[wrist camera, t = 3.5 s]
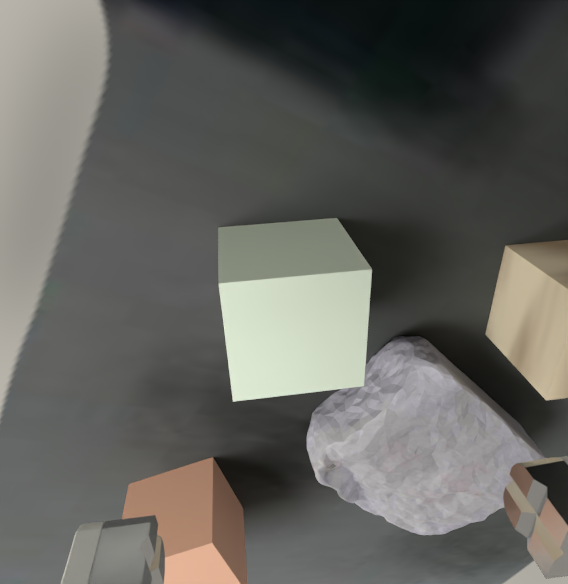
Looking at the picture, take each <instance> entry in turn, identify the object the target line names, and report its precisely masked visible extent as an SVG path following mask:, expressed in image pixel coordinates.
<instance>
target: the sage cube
mask: <svg viewBox="0 0 568 584" xmlns="http://www.w3.org/2000/svg"><path fill="white" fill-rule="evenodd" d="M218 266H219V290H220V299H221V307H222V315H223V323H224V331H225V340H226V348H227V356H228V364H229V372H230V381H231V389H232V397H233V402H234V401H242V400H251V399H259V398H268V397H276V396H285V395H293V394H302V393H310V392H319V391H327V390H336V389H344V388H352V387H361V386H364V378H365V364H366V349H367V335H368V321H369V307H370V292H371V278H372V268H371V267H370V266H369V264H368V263H367V261H366V260H365V258H364V257H363V255H362V254H361V252H360V251H359V249H358V248H357V246H356V245H355V244H354V242H353V241H352V239H351V238H350V236H349V235H348V233H347V232H346V230H345V229H344V227H343V226H342V225H341V223H340V222H339V220H338V219H337V218H330V219H318V220H305V221H293V222H280V223H268V224H255V225H243V226H230V227H218Z"/></svg>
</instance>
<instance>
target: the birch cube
mask: <svg viewBox="0 0 568 584" xmlns="http://www.w3.org/2000/svg"><path fill="white" fill-rule="evenodd" d="M485 335H486V336H487V337H488V338H489V339H490V340H491V341H492V342H493V343H494V344H495V346H496V347H497V348H498V349H499V350H500V351H501V352H502V353H503V354H504V355H505V356H506V357H507V359H508V360H509V361H510V362H511V363H512V364H513V365H514V366H515V367H516V368H517V369H518V371H519V372H520V373H521V374H522V375H523V376H524V377H525V378H526V379H527V380H528V381H529V382H530V384H531V385H532V386H533V387H534V388H535V389H536V390H537V391H538V392H539V393H540V394H541V396H542V397H543V398H544V399H545V400H554V399H562V398H568V240H561V241H550V242H538V243H527V244H516V245H506V246H505V250H504V254H503V259H502V263H501V268H500V272H499V276H498V281H497V285H496V290H495V294H494V298H493V303H492V307H491V312H490V316H489V320H488V325H487V329H486V334H485Z"/></svg>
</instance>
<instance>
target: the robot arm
mask: <svg viewBox="0 0 568 584" xmlns="http://www.w3.org/2000/svg"><path fill="white" fill-rule="evenodd" d="M510 476H511V477H512V479H513V480H512V481H511V482H510V483H509V484H508V485H507V486H506V487H505V490H504V494H503V500H504V507H505V510H506V513H507V515H508V518H509V520H510V521H511V523H512V525H513V526H514V528H515V530H517V531H518V532H520V533H521V534H523V535H524V536H526V537H527V538H528V540H527V549H528V551H529V552H530V554H531V556H532V557H533V559H534V560H535V562H536V564H537V565H538V567H539V568H540V570H541V572H542V573H543V575H544V576H545V578H546V579H547V578H555V577H563V576H568V456H564V457H557V458H555V457H553V458H546V459H540V460H534V461H528V462H521V463H516V464H515V465H513V466H512V468H511V471H510ZM157 531H158V522H157V519H156V516H155V515H151V516H143V517H135V518H128V519H120V520H112V521H102V522H95V523H88V524H81V525H80V527H79V528H78V530H77V532H76V533H75V537H74V540H73V544H72V547H71V551H70V554H69V557H68V561H67V564H66V568H65V571H64V575H63V578H62V582H61V584H164V575H165V551H164V544H163V540H162V537H161V536H159V535H157Z"/></svg>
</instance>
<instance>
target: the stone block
mask: <svg viewBox="0 0 568 584" xmlns="http://www.w3.org/2000/svg"><path fill="white" fill-rule="evenodd" d="M307 450H308V453H309V457H310V461H311V464H312V466H313V469H314V472H315V477H316V478H317V480H318V482H319V483H321V484H322V485H326V486H329V487H332V488H334V489H335V490H336V491H337V493H338V495H339V496H340V497H341V498H342V499H344V500H345V501H347V502H349V503H356V504H357V505H358V506H360V507H361V508H362V509H364V510H366V511H369V512H370V513H373V514H375V515H381V516H383V517H384V518H386V520H387V521H388V522H390V523H392V524H394V525H397V526H399V527H401V528H403V529H405V530H408V531H410V532H414V533H417V534H420V535H434V534H445V533H447V532H449V531H451V530H453V529H457V528H460V527H463V526H465V525H467V524H469V523H473V522H478V521H482V520H485V519H486V517H487V516H488V515H490V514H492V513H494V512H495V511H497V510H498V509H500V508H504V500H503V494H504V490H505V487H506V486H507V485H508V484H509V483H510V482H511V481H512V480H513V479H512V477H511V476H510V471H511V468H512V466H513V465H515V464H516V463H521V462H528V461H534V460H540V459H546V457H545V456H544V454H543V452H542V451H541V450H540V449H539V448H538V446H537V445H536V444H535V442H534V441H533V440H532V439H531V438H530V437H529V436H528V435H527V433H526V432H525V430H524V429H523V427H522V426H521V425H520V424H519V423H518V422H517V421H516V420H515V419H514V418H513V417H512V416H511V415H509V414H508V413H507V412H506V411H505V410H504V409H503V408H501V407H500V406H499V405H498V404H497V403H496V402H495V401H494V400H493V399H491V398H490V397H489V396H488V395H487V394H486V393H485V392H484V391H483V390H482V389H481V388H479V387H478V386H477V385H476V384H475V383H474V382H473V381H472V380H471V379H469V378H468V377H467V376H466V375H465V374H464V373H463V372H462V371H460V370H459V369H458V368H457V367H456V366H455V365H453V364H452V363H451V362H450V361H449V360H448V359H447V358H446V357H445V356H444V355H443V354H442V353H440V352H439V351H438V350H437V349H436V348H435V347H434V346H433V345H432V344H431V343H430V342H429V341H428V340H426V339H424V338H422V337H420V336H413V337H404V336H399V337H394V338H393V340H392V341H391V342H389V343H388V344H386V345H385V346H384V347H383V348H382V349H381V350H380V351H379V352H378V353H377V354H376V355H374V356H373V357H372V358H371V360H370V361H369V363H368V364H367V365H366V366H365V378H364V386H361V387H352V388H344V389H341V390H340V391H338V392H336V393H334V394H332V395H331V396H330V397H329V398H328V399H326V400H325V401H324V402H323V403H322V404H321V405H319V406H318V407H317V408H316V410H315V411H314V412H313V413H312V418H311V423H310V426H309V429H308V433H307Z"/></svg>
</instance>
